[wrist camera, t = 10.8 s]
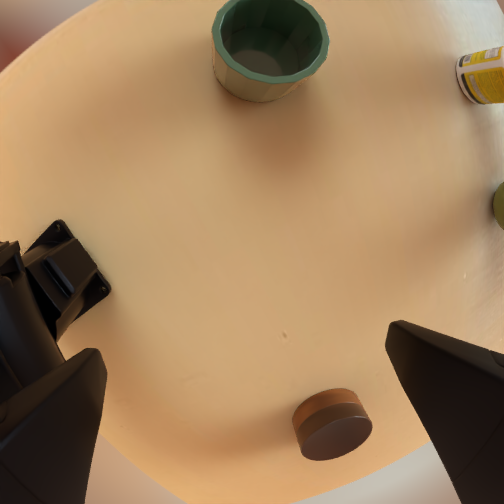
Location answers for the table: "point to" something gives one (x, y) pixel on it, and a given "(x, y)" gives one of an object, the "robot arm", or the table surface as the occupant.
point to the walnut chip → (333, 431)
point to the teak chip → (322, 403)
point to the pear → (499, 205)
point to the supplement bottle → (482, 76)
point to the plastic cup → (267, 47)
